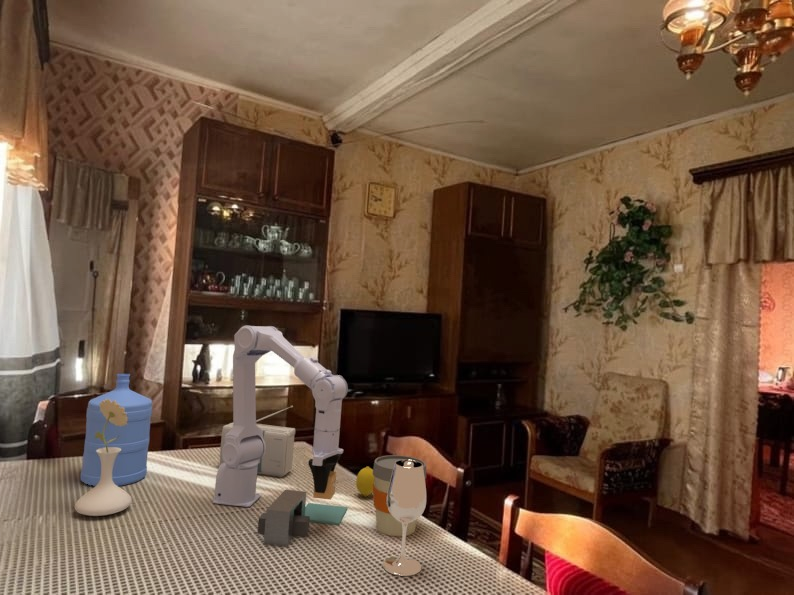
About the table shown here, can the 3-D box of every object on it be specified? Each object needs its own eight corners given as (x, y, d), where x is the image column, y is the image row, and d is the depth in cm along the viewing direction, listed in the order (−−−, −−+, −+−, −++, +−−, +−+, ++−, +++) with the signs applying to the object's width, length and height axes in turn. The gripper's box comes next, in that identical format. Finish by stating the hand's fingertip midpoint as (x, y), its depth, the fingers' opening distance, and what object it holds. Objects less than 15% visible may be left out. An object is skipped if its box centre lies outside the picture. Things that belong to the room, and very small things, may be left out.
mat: (296, 520, 117) (296, 518, 118) (308, 504, 127) (308, 502, 127) (338, 525, 116) (339, 522, 117) (347, 509, 126) (347, 507, 126)
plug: (313, 497, 114) (314, 475, 114) (317, 491, 118) (319, 470, 118) (334, 500, 113) (335, 477, 113) (338, 494, 117) (339, 472, 117)
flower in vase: (139, 512, 116) (148, 402, 117) (82, 525, 107) (93, 406, 108) (118, 496, 125) (128, 394, 126) (65, 506, 116) (75, 397, 117)
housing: (263, 543, 105) (266, 509, 105) (283, 520, 117) (285, 489, 117) (287, 546, 104) (289, 512, 104) (304, 522, 117) (306, 491, 117)
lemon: (373, 501, 133) (375, 470, 133) (352, 498, 134) (354, 468, 134) (377, 494, 138) (380, 465, 139) (358, 491, 139) (360, 462, 140)
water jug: (158, 478, 139) (167, 376, 140) (99, 492, 126) (109, 379, 127) (126, 465, 148) (135, 369, 149) (68, 478, 134) (78, 372, 136)
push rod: (257, 534, 109) (258, 518, 109) (261, 528, 112) (262, 512, 113) (305, 538, 109) (306, 522, 109) (308, 532, 112) (309, 516, 112)
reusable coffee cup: (386, 513, 126) (391, 452, 126) (432, 526, 119) (436, 462, 120) (358, 529, 115) (362, 462, 116) (406, 545, 109) (410, 474, 109)
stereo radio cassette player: (217, 470, 150) (223, 402, 151) (232, 462, 158) (237, 398, 159) (282, 479, 145) (288, 409, 146) (294, 471, 153) (299, 405, 154)
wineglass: (381, 556, 103) (387, 457, 103) (419, 557, 103) (425, 458, 104) (383, 576, 95) (390, 468, 96) (424, 577, 95) (431, 470, 96)
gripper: (337, 437, 109) (332, 502, 108) (350, 424, 123) (346, 480, 122) (305, 434, 109) (300, 498, 109) (322, 421, 124) (317, 477, 123)
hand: (322, 488), depth 116 cm, fingers closed on plug, 4 cm apart
